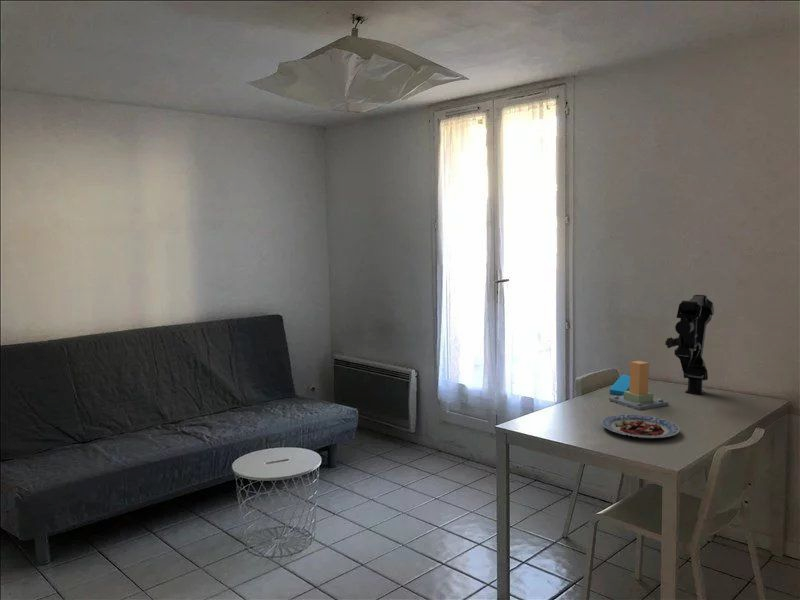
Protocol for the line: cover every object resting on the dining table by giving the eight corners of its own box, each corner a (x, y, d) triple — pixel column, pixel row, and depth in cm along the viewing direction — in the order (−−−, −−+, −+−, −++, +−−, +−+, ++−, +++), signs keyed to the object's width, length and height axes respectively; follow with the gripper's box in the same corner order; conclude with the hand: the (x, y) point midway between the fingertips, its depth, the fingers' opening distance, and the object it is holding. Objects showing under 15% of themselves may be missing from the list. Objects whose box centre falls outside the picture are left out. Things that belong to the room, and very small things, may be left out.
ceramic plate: (695, 435, 222) (696, 426, 222) (644, 448, 209) (645, 439, 209) (635, 416, 244) (635, 408, 244) (585, 427, 232) (586, 419, 231)
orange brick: (638, 390, 265) (639, 360, 263) (647, 393, 260) (648, 362, 259) (629, 391, 263) (630, 361, 261) (638, 394, 258) (639, 364, 257)
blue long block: (626, 406, 274) (641, 387, 286) (625, 391, 272) (640, 373, 284) (610, 403, 278) (626, 384, 291) (609, 389, 276) (625, 370, 289)
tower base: (637, 395, 273) (637, 385, 272) (668, 404, 258) (668, 394, 258) (609, 400, 266) (609, 390, 265) (639, 410, 251) (639, 399, 251)
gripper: (673, 327, 273) (672, 363, 275) (661, 333, 258) (660, 371, 260) (701, 329, 267) (700, 366, 268) (691, 335, 252) (689, 374, 254)
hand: (687, 369), depth 263 cm, fingers open, 9 cm apart
